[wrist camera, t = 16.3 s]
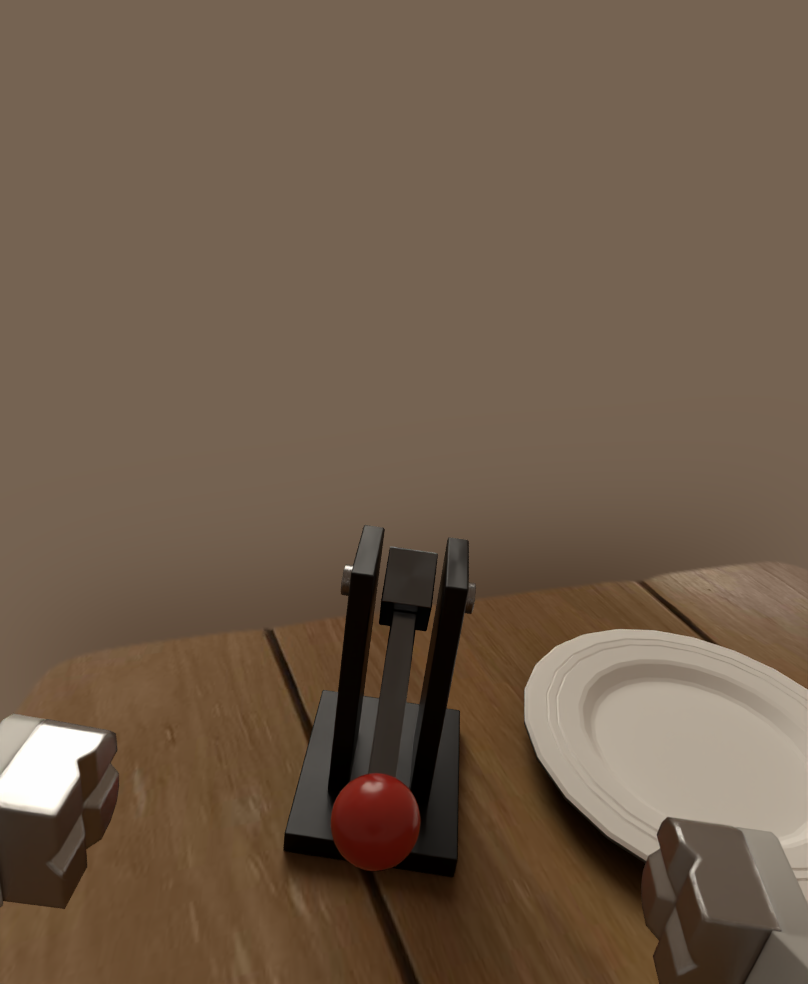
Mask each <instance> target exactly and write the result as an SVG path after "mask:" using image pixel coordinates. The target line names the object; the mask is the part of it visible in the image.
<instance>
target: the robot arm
mask: <svg viewBox="0 0 808 984" xmlns="http://www.w3.org/2000/svg"><path fill="white" fill-rule="evenodd" d="M116 752H117V740H116V733H114V732H112V731H109V730H104V729H98V728H93V727H87V726H82V725H77V724H71V723H66V722H60V721H55V720H49V719H40V718H35V717H29V716H24V715H18V714H12V715H10V716H9V717H7V718H5V719H4V720H2V721H1V723H0V907H1V906H3V901H7V902H15V903H23V904H30V905H38V906H46V907H54V908H62V909H65V908H66V906H67V904H68V902H69V900H70V898H71V896H72V894H73V893H74V891H75V889H76V887H77V885H78V883H79V881H80V879H81V877H82V876H83V874H84V872H85V870H86V868H87V854H86V849H88V848H89V847H91V846H92V845H94V844H95V843H97V842H98V841H100V840H101V839H102V837H103V835H104V833H105V831H106V829H107V827H108V825H109V823H110V821H111V818H112V815H113V812H114V809H115V805H116V802H117V797H118V789H119V773H118V772H117V770H116V769H115V768H114V767H113V766H112V764H111V761H112V759H113V757H114V756H115V754H116ZM657 838H658V842H659V846H660V849H658V850H657V851H655V852H654V853H652V854H650V855H649V856H648V858H647V861H646V864H645V867H644V870H643V874H642V885H641V899H642V909H643V914H644V919H645V923H646V926H647V927H648V928H649V929H650V931H651V932H652V933H653V934H654V935H655V937H656V938H657V939H658V940H659V942H658V945H657V947H656V950H655V952H654V954H653V959H654V963H655V968H656V972H657V976H658V980H659V984H808V903H807V901H806V899H805V897H804V895H803V892H802V890H801V888H800V886H799V883H798V881H797V879H796V877H795V875H794V872H793V870H792V868H791V866H790V864H789V861H788V859H787V857H786V855H785V852H784V850H783V848H782V846H781V844H780V841H779V839H778V838H777V837H776V836H775V835H774V834H773V833H772V832H768V831H762V830H755V829H748V828H741V827H733V826H729V825H722V824H715V823H708V822H701V821H694V820H687V819H680V818H673V817H667V818H666V819H665V820H663V821H662V823H661V825H660V827H659V830H658V832H657Z"/></svg>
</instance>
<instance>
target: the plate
mask: <svg viewBox="0 0 808 984" xmlns="http://www.w3.org/2000/svg"><path fill="white" fill-rule="evenodd" d="M524 724H525V727H526V730H527V732H528V735H529V738H530V741H531V744H532V746H533V749H534V752H535V755H536V757H537V760H538V761H539V763H540V764H541V766H542V767H543V769H544V770H545V771H546V773H547V774H548V776H549V777H550V779H551V780H552V781H553V783H554V784H555V786H556V787H557V789H558V790H559V791H560V793H561V794H562V796H563V797H564V799H565V800H566V801H567V802H568V803H570V804H571V805H572V806H573V807H574V808H575V809H576V810H577V811H578V812H579V813H580V814H581V815H582V816H583V817H584V818H586V819H587V820H588V821H589V822H590V823H591V824H592V825H593V826H594V827H595V828H596V829H597V830H598V831H599V832H600V833H602V834H603V835H604V836H605V837H606V838H607V839H608V840H610V841H611V842H613V843H615V844H616V845H618V846H619V847H621V848H622V849H624V850H625V851H627V852H628V853H630V854H632V855H633V856H635V857H636V858H638V859H639V860H641V861H642V862H644V863H646V861H647V858H648V856H649V855H650V854H652V853H654V852H655V851H657V850H658V849H660V846H659V842H658V838H657V832H658V830H659V827H660V825H661V823H662V821H663V820H665V819H666V818H667V817H673V818H680V819H687V820H694V821H701V822H708V823H715V824H722V825H729V826H733V827H741V828H748V829H755V830H762V831H768V832H772V833H773V834H774V835H775V836H776V837H777V838H778V839H779V841H780V844H781V846H782V848H783V850H784V852H785V855H786V857H787V859H788V861H789V864H790V866H791V868H792V870H793V872H794V875H795V877H796V879H797V881H798V883H799V886H800V888H801V890H802V892H803V895H804V897H805V899H806V901H807V903H808V690H807V689H806V688H804V687H803V686H801V685H799V684H798V683H796V682H794V681H793V680H791V679H790V678H788V677H786V676H785V675H783V674H781V673H780V672H778V671H777V670H775V669H773V668H771V667H769V666H766V665H764V664H762V663H760V662H758V661H755V660H753V659H751V658H749V657H747V656H745V655H742V654H740V653H738V652H736V651H734V650H731V649H727V648H724V647H721V646H718V645H715V644H712V643H709V642H706V641H703V640H700V639H696V638H693V637H688V636H682V635H677V634H672V633H666V632H661V631H655V630H629V629H616V630H609V631H603V632H596V633H590V634H584V635H581V636H579V637H577V638H574V639H572V640H570V641H567V642H565V643H562V644H560V645H558V646H556V647H555V648H553V649H552V650H551V651H550V652H549V653H548V654H547V655H546V656H545V657H544V658H542V659H541V660H540V661H539V662H538V663H537V664H536V665H535V667H534V669H533V672H532V674H531V676H530V678H529V681H528V683H527V685H526V687H525V691H524Z"/></svg>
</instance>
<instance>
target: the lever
mask: <svg viewBox="0 0 808 984" xmlns="http://www.w3.org/2000/svg"><path fill="white" fill-rule="evenodd" d="M437 558H438V554H437V553H432V552H424V551H418V550H411V549H404V548H397V547H390V550H389V556H388V562H387V568H386V574H385V580H384V586H383V593H382V599H381V608H380V618H379V624H380V625H387V626H390V632H389V638H388V645H387V651H386V658H385V665H384V671H383V678H382V684H381V691H380V697H379V704H378V711H377V717H376V724H375V730H374V737H373V743H372V750H371V756H370V763H369V770H368V774H364V775H361V776H359V777H357V778H355V779H353V780H352V781H350V782H349V783H348V784H347V785H346V786H345V787H344V788H343V789H342V790H341V792H340V793H339V794H338V796H337V798H336V800H335V802H334V805H333V808H332V812H331V819H330V827H331V834H332V838H333V841H334V843H335V846H336V847H337V849H338V851H339V852H340V854H341V855H342V856H343V857H344V858H345V859H346V860H347V861H348V862H349V863H351V864H352V865H354V866H355V867H357V868H360V869H363V870H367V871H383V870H387V869H390V868H392V867H394V866H396V865H398V864H399V863H401V862H402V861H403V860H404V859H405V858H406V857H407V856H408V855H409V854H410V852H411V851H412V850H413V848H414V846H415V844H416V842H417V839H418V836H419V832H420V823H421V818H420V811H419V806H418V803H417V801H416V799H415V797H414V795H413V793H412V792H411V790H410V789H409V788H408V787H407V786H406V785H405V784H404V783H403V782H402V781H400V780H399V779H397V778H396V775H397V768H398V760H399V752H400V745H401V737H402V729H403V722H404V714H405V706H406V698H407V691H408V683H409V675H410V668H411V660H412V652H413V645H414V637H415V630H420V631H426V630H427V626H428V622H429V617H430V612H431V608H432V600H433V591H434V583H435V575H436V565H437Z"/></svg>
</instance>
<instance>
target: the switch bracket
mask: <svg viewBox="0 0 808 984" xmlns="http://www.w3.org/2000/svg"><path fill="white" fill-rule="evenodd" d="M384 531H385V529H384V528H381V527H374V526H368V525H365V526H364V527H363V531H362V535H361V538H360V542H359V546H358V549H357V553H356V557H355V560H354V564H353V565H347V564H346V565H345V568H344V572H343V577H342V583H341V594H342V595H346V596H348V606H347V614H346V623H345V633H344V642H343V651H342V660H341V670H340V679H339V688H338V692H334V691H327V690H323V691H322V695H321V699H320V702H319V706H318V710H317V714H316V717H315V721H314V725H313V729H312V732H311V736H310V740H309V744H308V747H307V751H306V755H305V759H304V762H303V766H302V770H301V774H300V778H299V781H298V785H297V789H296V793H295V796H294V800H293V804H292V808H291V811H290V815H289V819H288V823H287V826H286V830H285V836H284V849H283V850H284V851H288V852H294V853H301V854H307V855H314V856H320V857H326V858H333V859H339V860H346V859H345V858H344V857H343V856H342V855H341V854H340V852H339V851H338V849H337V847H336V846H335V843H334V841H333V838H332V834H331V827H330V819H331V812H332V808H333V805H334V802H335V800H336V798H337V796H338V794H339V793H340V792H341V790H342V789H343V788H344V787H345V786H346V785H347V784H348V783H349V782H350V781H352V780H353V779H355V778H357V777H359V776H361V775H364V774H368V770H369V763H370V756H371V750H372V743H373V737H374V730H375V724H376V717H377V711H378V704H379V698H373V697H367V696H364V688H365V680H366V672H367V664H368V656H369V649H370V641H371V633H372V625H373V617H374V609H375V601H376V593H377V586H378V577H379V569H380V562H381V554H382V546H383V538H384ZM475 594H476V584H475V583H470V582H469V541H468V540H463V539H456V538H448V540H447V546H446V552H445V558H444V564H443V570H442V576H441V582H440V587H439V593H438V599H437V605H436V611H435V617H434V623H433V629H432V635H431V640H430V646H429V652H428V658H427V664H426V670H425V676H424V682H423V688H422V694H421V700H420V704H413V703H407V702H406V706H405V714H404V722H403V729H402V737H401V745H400V752H399V760H398V768H397V775H396V778H397V779H399V780H400V781H402V782H403V783H404V784H405V785H406V786H407V787H408V788H409V789H410V790H411V792H412V793H413V795H414V797H415V799H416V801H417V803H418V806H419V811H420V818H421V823H420V832H419V836H418V839H417V842H416V844H415V846H414V848H413V850H412V851H411V852H410V854H409V855H408V856H407V857H406V858H405V859H404V860H403V861H402V862H401V863H399V864H398V865H396V866H394V867H392V868H398V869H404V870H411V871H417V872H424V873H430V874H436V875H443V876H449V877H453V876H454V873H455V869H456V864H457V857H458V795H459V732H460V711H459V710H453V709H447V702H448V697H449V692H450V687H451V681H452V676H453V671H454V666H455V660H456V655H457V650H458V644H459V639H460V634H461V629H462V623H463V618H464V613H467V614H472V612H473V608H474V602H475ZM346 861H347V860H346Z"/></svg>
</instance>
